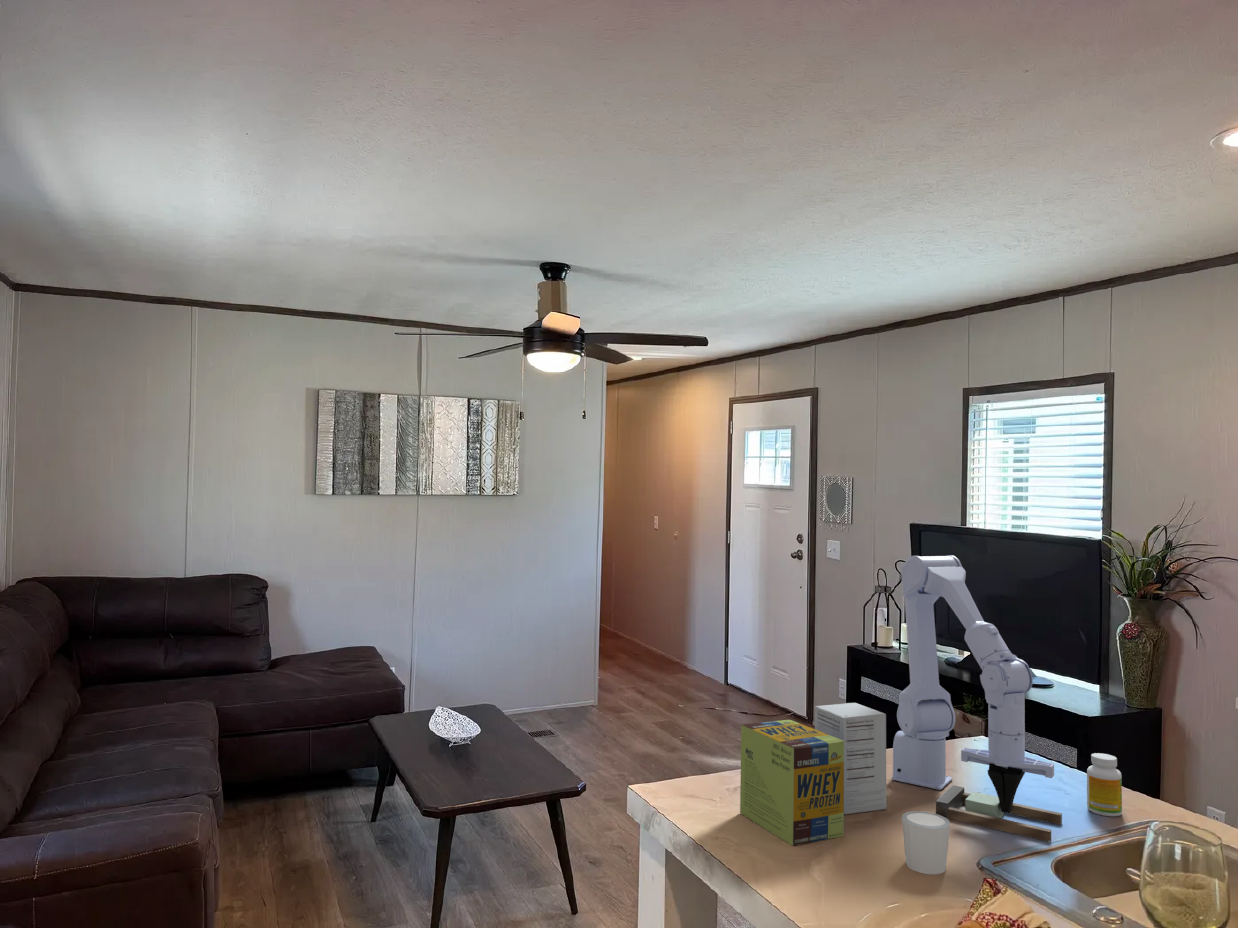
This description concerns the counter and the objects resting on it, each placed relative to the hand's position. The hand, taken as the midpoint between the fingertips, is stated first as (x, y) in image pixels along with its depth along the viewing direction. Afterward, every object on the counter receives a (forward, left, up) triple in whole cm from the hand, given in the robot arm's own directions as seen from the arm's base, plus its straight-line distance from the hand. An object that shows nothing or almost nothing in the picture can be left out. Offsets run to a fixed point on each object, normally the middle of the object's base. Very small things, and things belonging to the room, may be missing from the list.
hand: (1006, 810), depth 146 cm
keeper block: (-3, 0, -2) cm, 4 cm away
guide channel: (-1, 0, -2) cm, 2 cm away
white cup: (-5, -27, -2) cm, 28 cm away
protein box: (-28, -25, -2) cm, 38 cm away
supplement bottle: (+13, +16, -2) cm, 21 cm away
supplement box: (-24, -9, -2) cm, 26 cm away
